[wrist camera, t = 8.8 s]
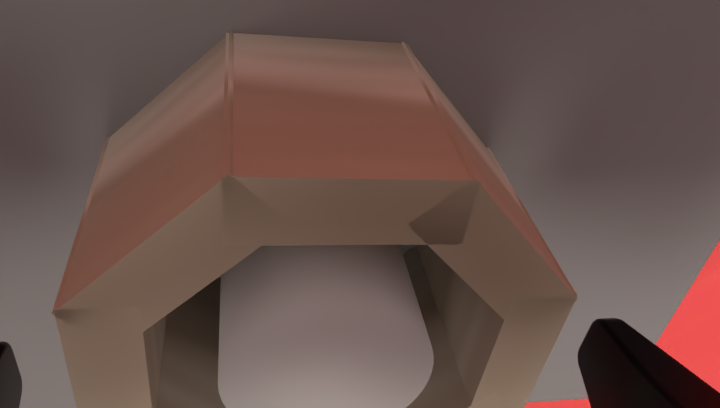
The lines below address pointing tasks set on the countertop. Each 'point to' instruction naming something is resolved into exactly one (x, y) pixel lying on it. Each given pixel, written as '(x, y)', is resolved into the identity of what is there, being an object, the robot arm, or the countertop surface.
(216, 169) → the ring
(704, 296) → the countertop surface
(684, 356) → the countertop surface
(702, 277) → the countertop surface
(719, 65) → the post board
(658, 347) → the robot arm
